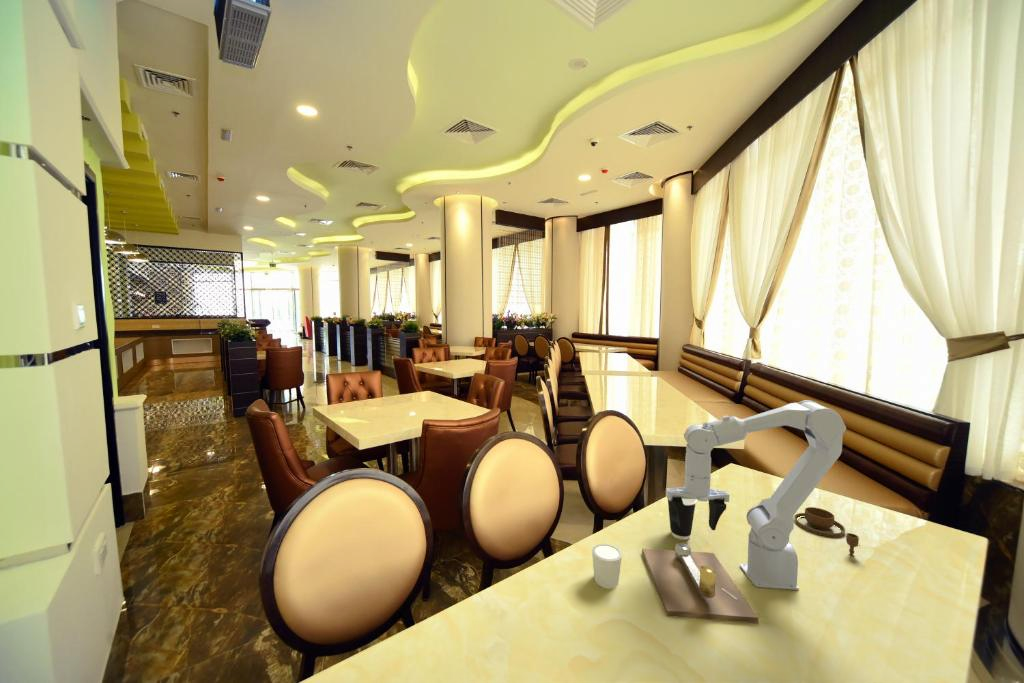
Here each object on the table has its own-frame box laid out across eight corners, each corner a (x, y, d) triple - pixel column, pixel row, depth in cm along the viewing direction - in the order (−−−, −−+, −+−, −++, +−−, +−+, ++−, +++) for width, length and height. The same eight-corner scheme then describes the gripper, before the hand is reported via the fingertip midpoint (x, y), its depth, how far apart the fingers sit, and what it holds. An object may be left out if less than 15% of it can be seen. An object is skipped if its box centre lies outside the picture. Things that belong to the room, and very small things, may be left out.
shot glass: (622, 592, 87) (623, 562, 87) (591, 588, 88) (592, 558, 88) (620, 572, 94) (620, 545, 93) (591, 569, 95) (592, 541, 95)
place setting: (858, 530, 114) (858, 511, 114) (861, 562, 99) (862, 540, 98) (785, 511, 125) (786, 494, 125) (779, 538, 110) (780, 518, 110)
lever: (687, 555, 98) (688, 528, 98) (718, 608, 80) (719, 575, 80) (673, 554, 99) (673, 527, 98) (700, 606, 81) (701, 574, 80)
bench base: (713, 557, 100) (713, 552, 100) (758, 623, 78) (758, 617, 78) (642, 552, 102) (642, 548, 102) (667, 616, 80) (667, 610, 80)
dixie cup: (691, 529, 114) (692, 492, 113) (699, 544, 106) (700, 505, 105) (663, 526, 115) (664, 490, 114) (668, 541, 107) (669, 502, 107)
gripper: (672, 479, 92) (671, 534, 93) (736, 482, 91) (734, 537, 91) (663, 468, 99) (662, 519, 100) (722, 470, 98) (721, 522, 98)
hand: (696, 527), depth 96 cm, fingers open, 7 cm apart
